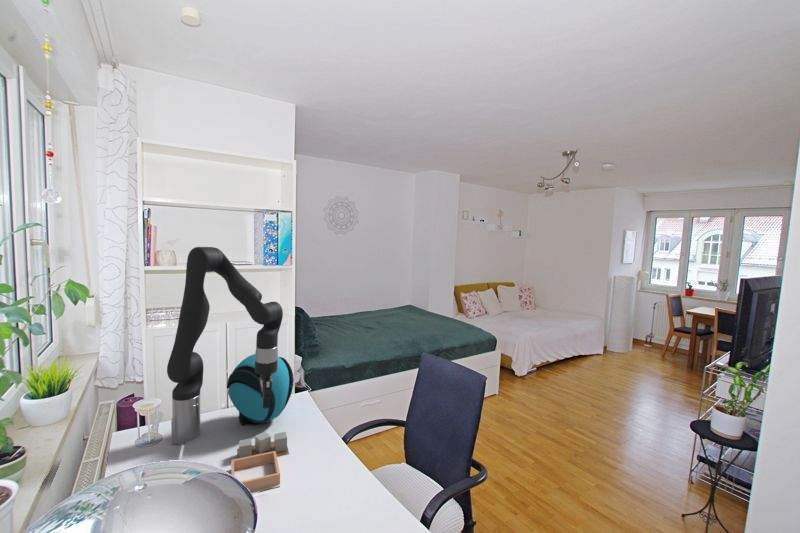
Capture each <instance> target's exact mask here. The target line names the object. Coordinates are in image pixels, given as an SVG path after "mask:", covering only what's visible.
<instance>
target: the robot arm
mask: <svg viewBox="0 0 800 533" xmlns="http://www.w3.org/2000/svg"><path fill="white" fill-rule="evenodd" d="M186 260H187V261H186V267H185V270H186V271H185V285H184V288H183V289H184V291H183V296H182V301H181V302H182V303H181V306H180V312H179V317H178V322H177V328H176V332H175V338H174V343H173V347H172V350H171V353H170V356H169V359H168V362H167V367H166V373H167V377H168V379H169V380H170V381H171V382H172V383H176V385H175V387H174V388H173V389H172V392H171V402H172V403H171V404H172V405H171V407H172V408H171V410H172V411H171V415H172V417H171V445H186V442H190V441H193V440H195V439H196V438H198V437H199V436H201V390H202V389H201V388H202V387H203V380H204V361H203V358H202V356H201V355H200V354H199V353H198V352H196V351H194V348H195V346H196V345H197V342H198V341H199V338H200V337H201V335H202V334H203V332H204V330H205V328H206V325H207V323H208V320H209V319H208V318H209V314H210V308H211V307H210V302H209V299H208V297H207V295H206V292H205V289H204V283H205V278H206V274H207V273H212V272H214V273H216V274H218V275H219V276H221V278H223V280H224V281H225V283H226V284H227V288H228V290H229V292H230V295H232V296H233V297H234V298H235V300H237V301H238V302H239V303H240V304H241V305H243V307H244V308H245V310H246V311H247V313H248V315H249V316H250V318H251V319H252V320H253V321H254V322H255V323H257V324H258V325H262V328H261V329H259V330H258V331H257V332H256V342H255V347H256V348H255V352H254V354H255V373H257V374H259V375H260V377H259V378H260V384H261V385H260V386H261V398H263V408H264V409H266V408H269V407H270V398H271V397H272V396H271V395H272V377H271V374H273V373H275V372H276V371H277V365H278V357H279V349H278V344H279V343H278V342H279V341H278V340H279V331H280V329H281V325H282V320H283V318H284V317H283V316H284V311H283V307H282V305H281V304H280V303H279V302H277V301H270V302H269V301H268V302H266V303H263V302H262V298H263V294H262V293H261V292H260V291H259V290H258V288H256V287H255V286H254V285H253V284H252V283H250V282H249V280H247V279H246V278H245V277H244V276H243V275H242V274H241V273H240V272H239V270H237V268H236V267H235V266H234V265H233V263H232V262H231V260H230V259H229V258H228V257H227V256H226V255H225V253H224V252H223V251H222V250H221V249H219V248H218V247H215V246H214V247H213V246H196V247H193V248H192V249H191V250H190V251H189V253H188V256H187V259H186ZM267 392H269V394H267Z"/></svg>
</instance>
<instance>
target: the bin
mask: <svg viewBox="0 0 800 533" xmlns="http://www.w3.org/2000/svg"><path fill="white" fill-rule="evenodd" d="M230 462H231V468H230V470H231V472H230V473H231V474H230V475H233V476H234V477H235V471H238V470H241V469H245V468H251V467H255V466H259V465H264V464H269V463H273V469H274V473H271V474H267V475H262V476H259V477H255V478H250V479H246V480H243V481H242V480H241V481H240V482H242V483H243V484H244V485H245V486H246V487H247V488H248V489H249V490H250V491H249V492H252V491H257V490H260V491H259V492H257V493H262V492H267V491H271V490H275V489H278V488H280V487H281V486H280V483H281V472H280V467H279V463H278V462H279V461H278V457H277V456H276V451H272V452H267V453H263V454H258V455H253V456H248V457H243V458H239V459H238V458H235V459H234V458H233V459H231V461H230ZM272 486H273V487H272ZM274 486H275V487H274ZM268 487H269V488H268ZM270 487H271V488H270ZM265 488H267V489H265ZM261 489H263V490H261Z"/></svg>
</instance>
